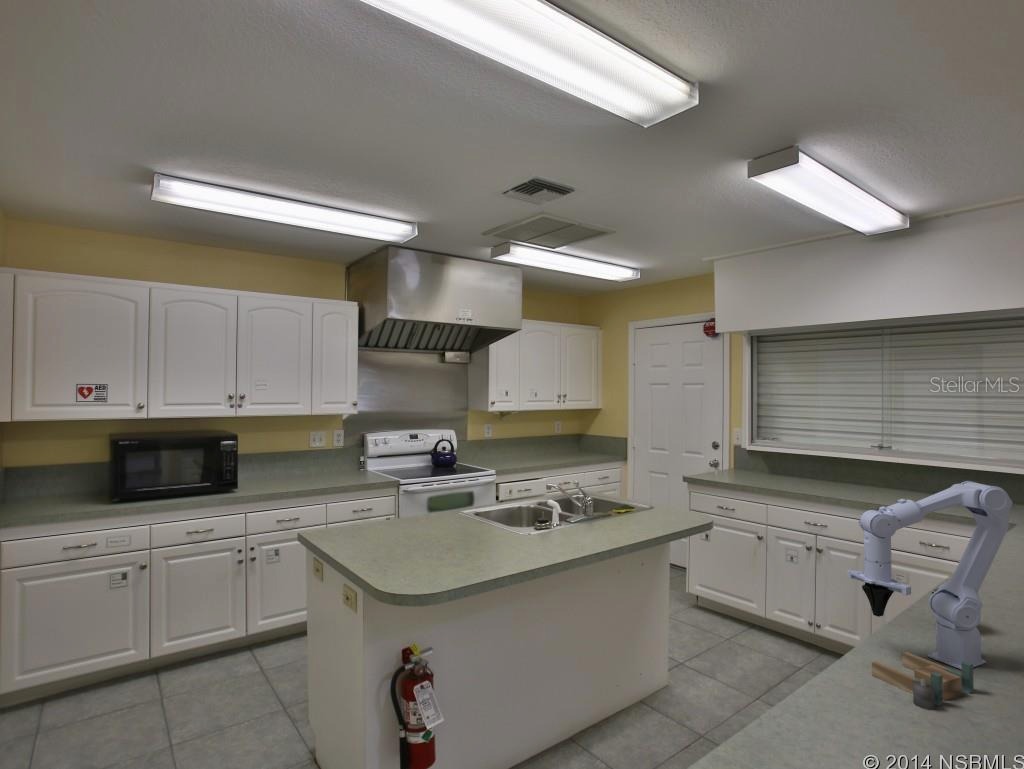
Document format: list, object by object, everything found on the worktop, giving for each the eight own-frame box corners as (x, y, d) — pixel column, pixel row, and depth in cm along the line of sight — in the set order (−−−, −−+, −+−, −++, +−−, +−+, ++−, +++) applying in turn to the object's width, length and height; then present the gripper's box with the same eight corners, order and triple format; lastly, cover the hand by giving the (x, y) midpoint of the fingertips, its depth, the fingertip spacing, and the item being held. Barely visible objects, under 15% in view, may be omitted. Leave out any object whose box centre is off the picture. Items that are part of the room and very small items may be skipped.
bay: (906, 664, 136) (905, 639, 137) (975, 692, 123) (974, 664, 124) (859, 679, 129) (859, 652, 129) (928, 711, 116) (927, 681, 116)
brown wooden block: (932, 682, 128) (931, 665, 128) (961, 695, 122) (961, 677, 123) (914, 687, 126) (914, 669, 126) (943, 701, 120) (943, 682, 120)
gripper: (839, 554, 145) (839, 607, 145) (898, 570, 132) (898, 628, 132) (857, 551, 148) (857, 603, 148) (916, 566, 135) (917, 623, 135)
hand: (878, 615), depth 140 cm, fingers closed
